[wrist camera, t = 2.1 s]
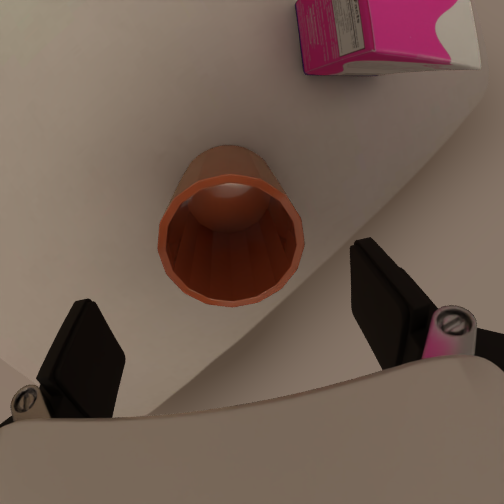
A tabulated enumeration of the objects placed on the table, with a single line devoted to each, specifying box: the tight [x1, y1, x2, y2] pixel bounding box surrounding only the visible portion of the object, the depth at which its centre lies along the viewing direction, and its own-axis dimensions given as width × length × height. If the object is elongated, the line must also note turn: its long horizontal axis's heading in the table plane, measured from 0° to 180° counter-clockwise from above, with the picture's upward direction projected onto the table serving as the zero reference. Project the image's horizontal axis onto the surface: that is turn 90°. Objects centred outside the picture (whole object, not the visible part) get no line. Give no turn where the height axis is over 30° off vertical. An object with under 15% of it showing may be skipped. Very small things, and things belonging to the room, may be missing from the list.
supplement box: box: [295, 0, 481, 76], centre depth 13 cm, size 6×6×12 cm
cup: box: [157, 145, 305, 307], centre depth 19 cm, size 7×7×9 cm
